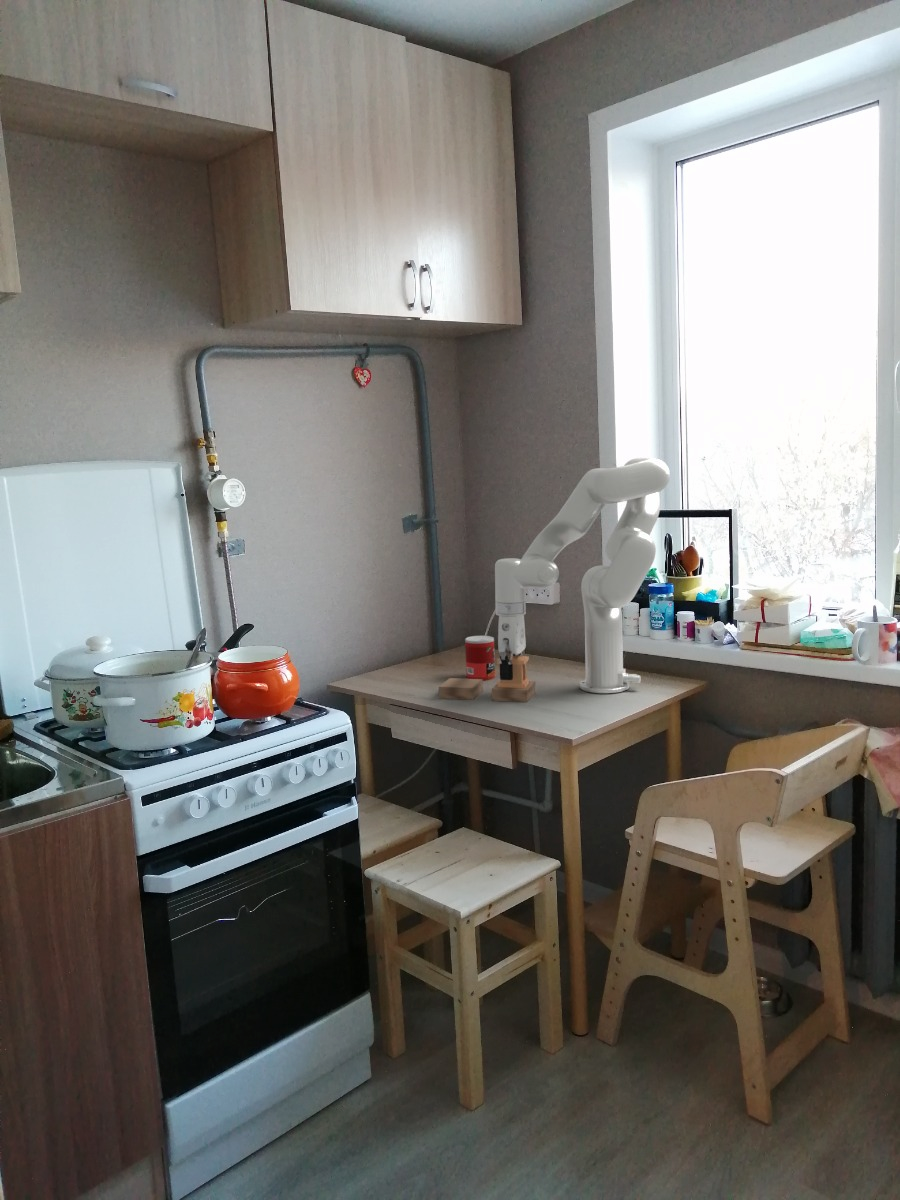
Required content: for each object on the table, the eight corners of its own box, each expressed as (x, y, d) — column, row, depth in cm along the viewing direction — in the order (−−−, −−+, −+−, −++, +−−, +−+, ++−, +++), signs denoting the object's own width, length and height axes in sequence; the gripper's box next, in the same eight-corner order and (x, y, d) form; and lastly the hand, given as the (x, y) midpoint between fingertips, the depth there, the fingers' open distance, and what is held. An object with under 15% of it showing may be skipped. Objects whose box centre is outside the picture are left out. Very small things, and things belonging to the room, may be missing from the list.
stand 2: (535, 692, 243) (535, 681, 242) (527, 702, 235) (526, 690, 234) (501, 691, 246) (501, 680, 245) (492, 700, 237) (491, 688, 237)
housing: (529, 683, 241) (528, 656, 240) (524, 688, 236) (524, 660, 235) (502, 682, 243) (501, 655, 242) (497, 687, 238) (496, 659, 237)
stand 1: (483, 690, 247) (482, 679, 247) (473, 699, 239) (472, 688, 238) (450, 689, 250) (449, 678, 250) (439, 698, 242) (438, 686, 241)
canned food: (493, 681, 257) (491, 641, 255) (464, 680, 258) (462, 641, 257) (497, 674, 264) (496, 635, 262) (469, 673, 266) (467, 635, 264)
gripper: (516, 614, 227) (517, 684, 230) (533, 603, 243) (533, 668, 246) (486, 613, 230) (487, 682, 232) (504, 602, 246) (505, 666, 248)
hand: (511, 675), depth 239 cm, fingers open, 9 cm apart
